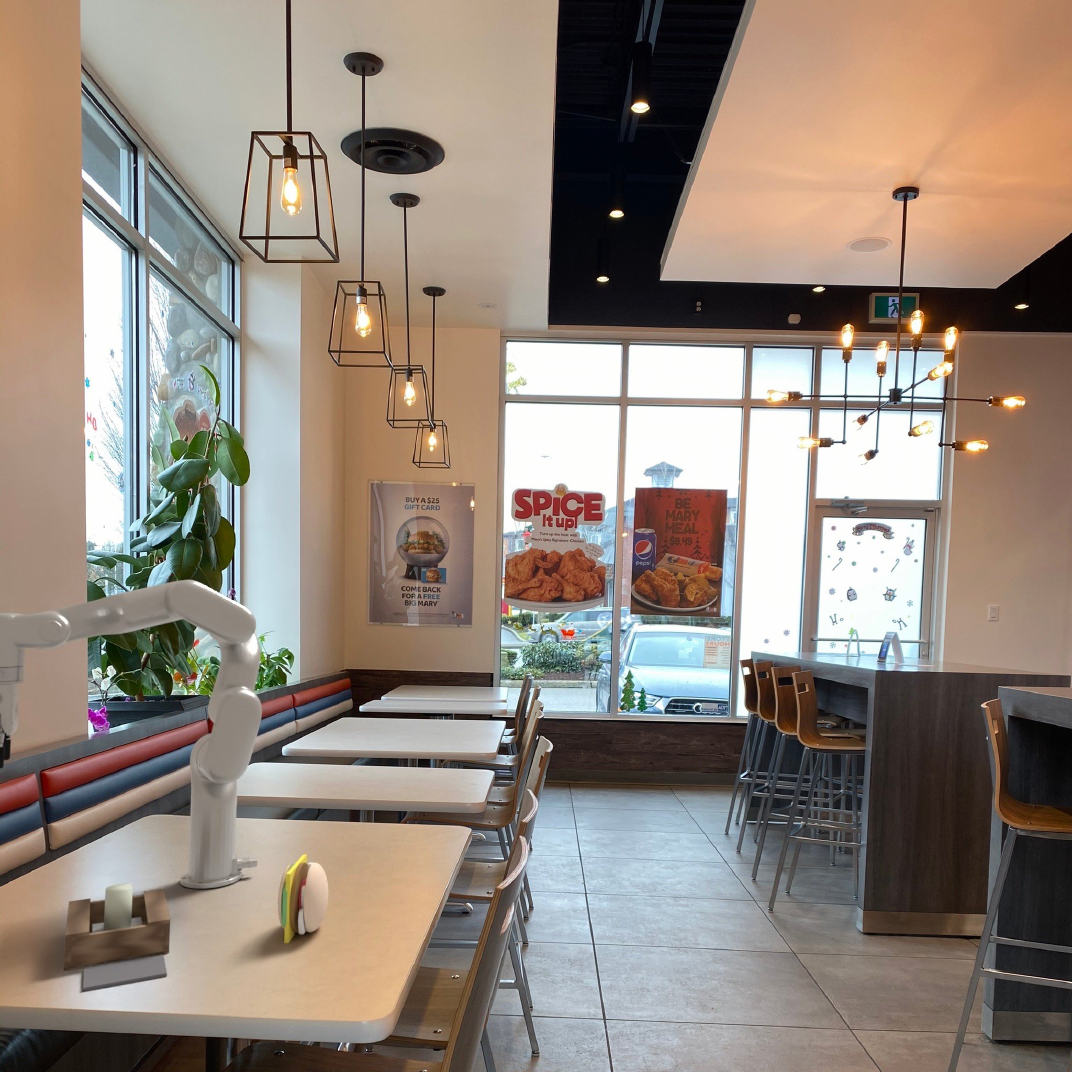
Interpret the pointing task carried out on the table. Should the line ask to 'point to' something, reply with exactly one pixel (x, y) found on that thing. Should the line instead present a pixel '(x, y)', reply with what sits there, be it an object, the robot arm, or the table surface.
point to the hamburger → (302, 898)
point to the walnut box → (116, 931)
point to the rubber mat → (124, 972)
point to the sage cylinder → (118, 906)
